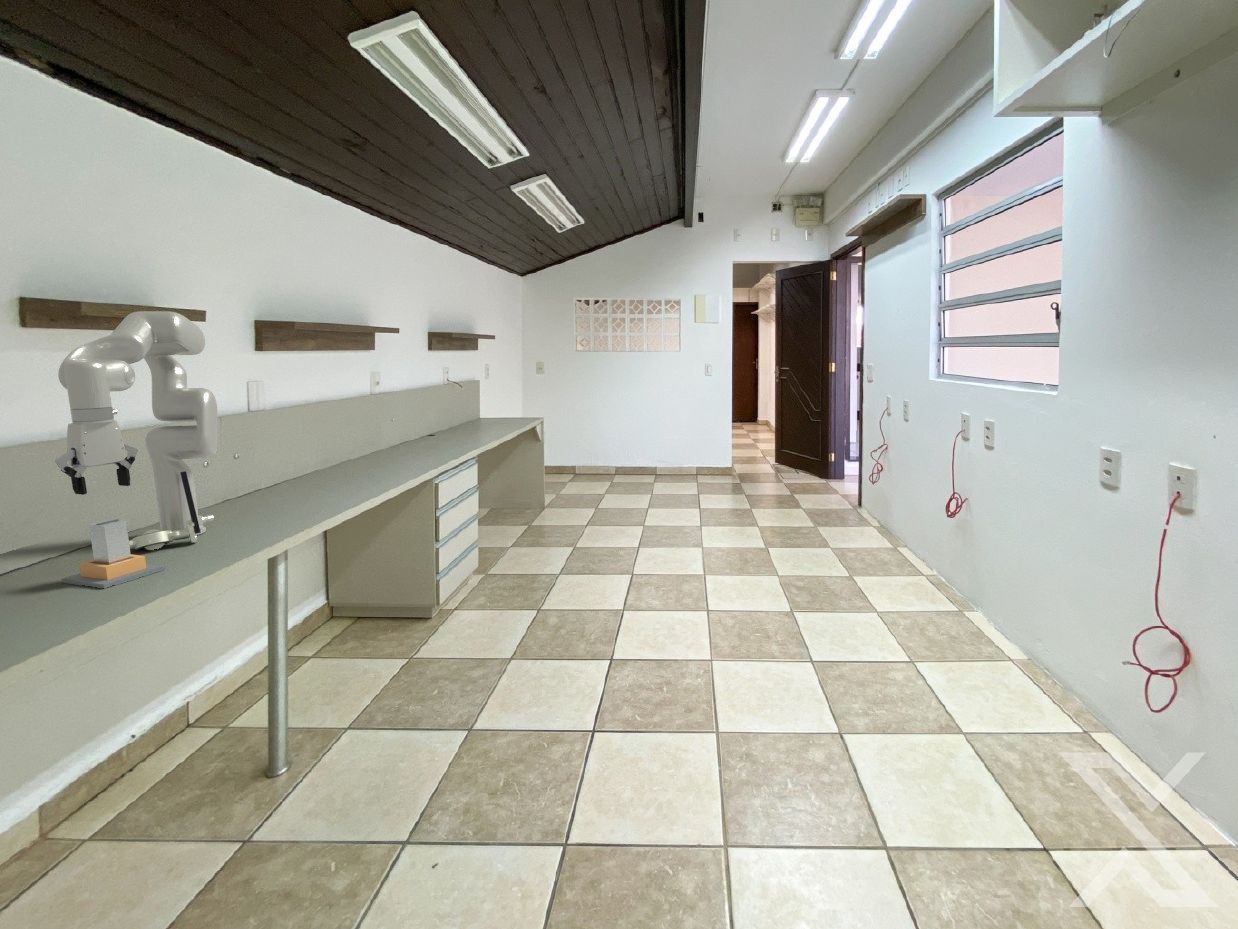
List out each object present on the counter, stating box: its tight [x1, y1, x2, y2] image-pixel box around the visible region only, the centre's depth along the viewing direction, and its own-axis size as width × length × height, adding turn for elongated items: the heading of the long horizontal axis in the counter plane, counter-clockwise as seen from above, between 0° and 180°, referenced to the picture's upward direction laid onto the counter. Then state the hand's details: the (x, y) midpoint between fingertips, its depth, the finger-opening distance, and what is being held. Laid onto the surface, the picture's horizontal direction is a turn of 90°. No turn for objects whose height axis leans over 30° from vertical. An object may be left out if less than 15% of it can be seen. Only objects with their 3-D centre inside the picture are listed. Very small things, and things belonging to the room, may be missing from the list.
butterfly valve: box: [129, 471, 201, 551], centre depth 184 cm, size 9×20×17 cm
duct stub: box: [88, 518, 131, 565], centre depth 159 cm, size 5×5×12 cm
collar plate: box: [61, 553, 165, 590], centre depth 160 cm, size 14×14×4 cm
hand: (103, 489), depth 157 cm, fingers open, 9 cm apart
